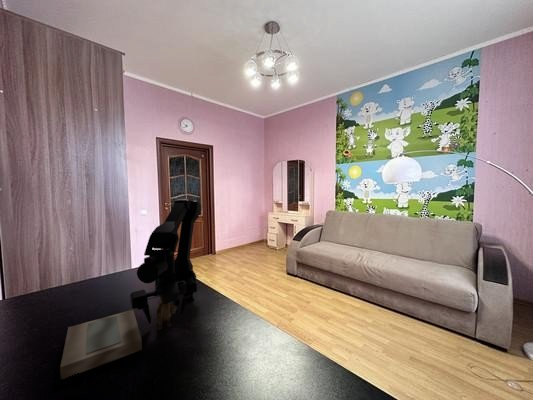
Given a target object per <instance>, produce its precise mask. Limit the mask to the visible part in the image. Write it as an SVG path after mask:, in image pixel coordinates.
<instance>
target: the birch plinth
mask: <svg viewBox="0 0 533 400" xmlns="http://www.w3.org/2000/svg"><path fill="white" fill-rule="evenodd" d="M142 342H143V341H142V335H141V332H140V328H139V326H138V321H137V318H136V315H135V311H134V309H130V310H127V311H123V312H120V313H116V314H112V315H108V316H105V317H102V318H97V319H94V320H90V321H86V322H82V323H79V324H76V325H73V326H68V329H67V333H66V338H65V342H64V348H63V353H62V358H61V361H60V366H59V373H60V374H59V375H60V380H61V379H63V380H65V379H67V377H68V378H70V377H69V376H71V377H73V376H75V375H74V374H76V375H78V374H77V373H79V374H81V373H84V372H87V371H89V370H91V369H94V368H97V367H100V366H102V365H105V364H108V363H111V362H114V361H116V360H118V359H121V358H125V357H126V356H130V355H131V354H134V353H137V352H139V351H142V350H143V343H142ZM72 375H73V376H72Z"/></svg>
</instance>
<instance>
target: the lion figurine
mask: <svg viewBox="0 0 533 400" xmlns="http://www.w3.org/2000/svg"><path fill="white" fill-rule="evenodd" d="M159 298H160V297H159ZM177 309H178V306H176V305H174V303H172V302H169V303H168V304H163V303H162V302H161V298H160V299H159V301H158V307H157V309H156V320H157V324H158V327H157V330H162V329H163V324H162V322H164V321H166V322H165V323H166V326H167V327H171V325H172V323H171V321H170V319H171V317H172V314H175V313H176V311H177Z"/></svg>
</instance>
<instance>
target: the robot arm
mask: <svg viewBox="0 0 533 400" xmlns="http://www.w3.org/2000/svg"><path fill="white" fill-rule="evenodd" d="M201 212H202V204H201V203H200V202H199V201H198V200H190V199H188V198H177V199H175V200H174V203H173V206H172V208H171V210H170V211H169V213H168V214H167V217H166V219H165V221H164V222H162V224H160V225H158V226H156V227H155V229H154V230H153V231H151V234H150V235H149V238H148V240H147V244H146V247H145V250H144V254H143V255H144V256H146V257H145V258H143V263H141V264H140V265H139V266H138V268H137V270H136V276H137V279H139V281H141V282H142V283H144V284H152V283H154V291H148V292H146V289H141V290H136V291H133V292H131V293H130V294H129V302H130V305H131V306H130V307H131V310H134V309H137V310H139V311H140V310H141V311H142V312H143V313H144V315H145V317H146V320H147V322H148V324H149V325H151V324H152V319H151V314H150V313H151V312H150V305H149V303H148V300H152V299H157V298H161V302H162V303H163V304H168V303H169V302H171V303H172V302H174V303H175V304H176V305H177V306H178V309H179V314H180V315H182V314H183V311H184V310H185V309H184V308H185V306H186V303H190V302H193V301H195V297H194V293H197V292H198V284H197V274H196V272H195V271H194V266H193V263H192V261H191V259H190V258H191V257H190V256H191V252H192V251H191V249H192V244H193V243H192V241H193V234H194V227H195V226H194V225H195V223H196V221H197V220H198V219H199V217H200V213H201ZM179 228H180V230H179ZM178 231H180V232H179V233H178ZM176 251H177V252H176ZM175 253H176V258H175Z"/></svg>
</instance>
